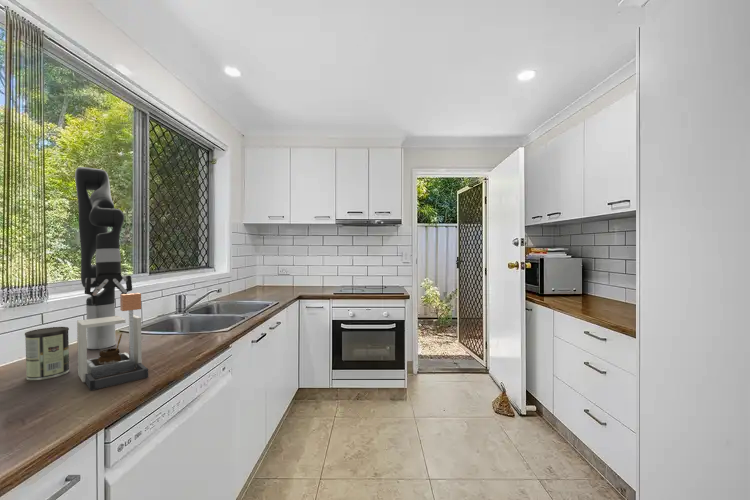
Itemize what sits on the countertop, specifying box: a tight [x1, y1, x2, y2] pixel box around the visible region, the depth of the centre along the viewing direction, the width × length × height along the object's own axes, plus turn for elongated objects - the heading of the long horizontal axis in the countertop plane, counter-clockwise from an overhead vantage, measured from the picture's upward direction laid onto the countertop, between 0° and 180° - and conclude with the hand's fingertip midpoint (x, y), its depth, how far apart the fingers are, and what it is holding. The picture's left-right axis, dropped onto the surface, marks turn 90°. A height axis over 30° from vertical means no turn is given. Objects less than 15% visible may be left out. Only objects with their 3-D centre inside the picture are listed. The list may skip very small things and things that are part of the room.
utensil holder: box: [98, 333, 123, 366], centre depth 115 cm, size 6×6×12 cm
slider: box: [87, 292, 142, 379], centre depth 116 cm, size 12×13×24 cm
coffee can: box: [24, 326, 70, 381], centre depth 114 cm, size 10×10×14 cm
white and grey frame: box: [76, 313, 143, 383], centre depth 115 cm, size 10×15×17 cm, turn 136°
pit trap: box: [84, 363, 149, 391], centre depth 109 cm, size 9×14×2 cm, turn 136°
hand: (109, 304), depth 135 cm, fingers open, 8 cm apart
